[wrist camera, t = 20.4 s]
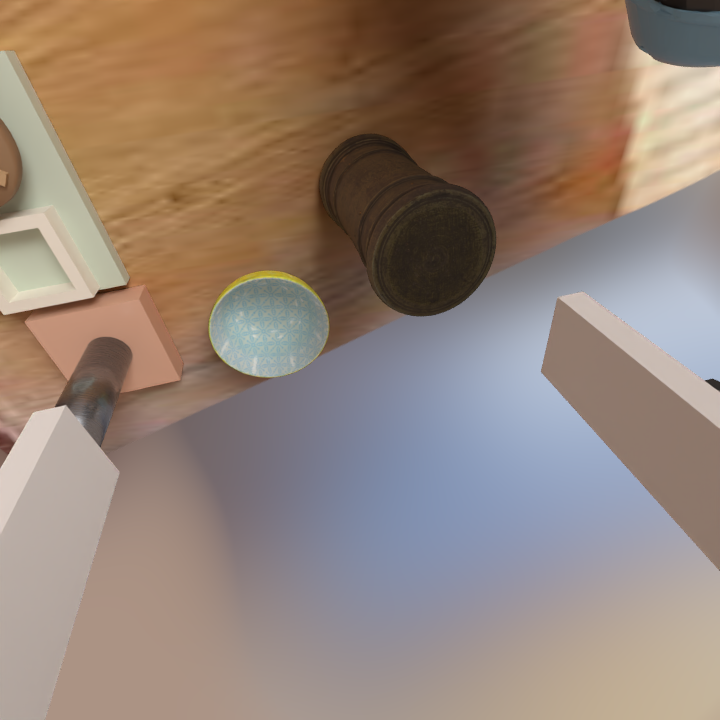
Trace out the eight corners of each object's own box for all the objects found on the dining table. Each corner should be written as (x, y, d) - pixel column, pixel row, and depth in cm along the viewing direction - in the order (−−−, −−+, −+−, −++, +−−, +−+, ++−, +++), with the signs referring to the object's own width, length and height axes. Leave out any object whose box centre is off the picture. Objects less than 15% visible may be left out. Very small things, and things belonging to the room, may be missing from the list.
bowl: (187, 288, 41) (179, 320, 36) (283, 229, 40) (288, 253, 35) (255, 360, 48) (256, 395, 43) (338, 312, 47) (349, 342, 42)
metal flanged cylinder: (70, 339, 38) (-4, 464, 27) (123, 328, 39) (72, 447, 27) (96, 377, 41) (39, 505, 30) (145, 366, 42) (107, 488, 30)
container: (300, 171, 37) (335, 245, 23) (383, 109, 35) (474, 148, 22) (351, 248, 42) (404, 346, 28) (425, 197, 41) (520, 273, 27)
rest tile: (37, 306, 39) (24, 322, 36) (145, 284, 40) (139, 299, 38) (91, 383, 45) (83, 401, 43) (183, 363, 46) (180, 380, 44)
